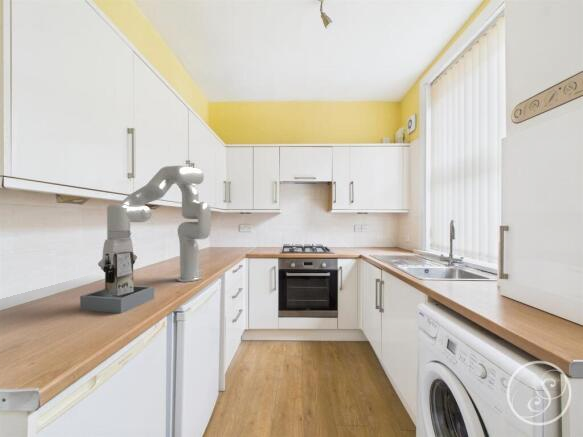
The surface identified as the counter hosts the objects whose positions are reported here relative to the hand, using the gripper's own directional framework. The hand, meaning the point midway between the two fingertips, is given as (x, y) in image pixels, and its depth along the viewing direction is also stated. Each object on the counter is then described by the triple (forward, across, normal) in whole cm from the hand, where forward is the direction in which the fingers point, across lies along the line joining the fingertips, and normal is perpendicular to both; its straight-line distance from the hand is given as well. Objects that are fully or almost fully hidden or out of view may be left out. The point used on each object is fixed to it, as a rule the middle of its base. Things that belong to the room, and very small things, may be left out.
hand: (119, 279), depth 98 cm
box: (+10, 0, 0) cm, 10 cm away
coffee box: (+5, 0, 0) cm, 5 cm away
